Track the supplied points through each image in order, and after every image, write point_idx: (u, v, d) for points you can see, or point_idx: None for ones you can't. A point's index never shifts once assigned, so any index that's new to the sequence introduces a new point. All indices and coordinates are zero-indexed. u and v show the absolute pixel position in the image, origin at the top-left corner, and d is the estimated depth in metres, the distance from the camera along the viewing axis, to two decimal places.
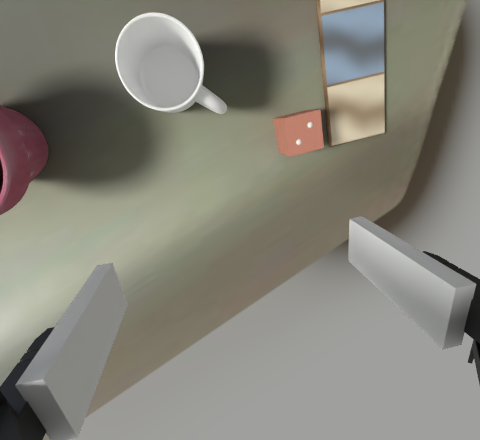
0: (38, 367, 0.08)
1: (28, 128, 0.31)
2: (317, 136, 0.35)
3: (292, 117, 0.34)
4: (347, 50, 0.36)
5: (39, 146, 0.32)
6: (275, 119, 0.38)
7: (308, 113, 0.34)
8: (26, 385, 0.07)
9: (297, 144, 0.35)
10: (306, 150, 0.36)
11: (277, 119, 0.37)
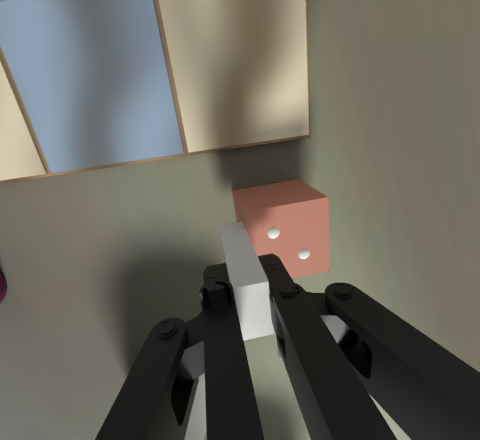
0: (239, 279, 0.11)
1: None
2: (300, 214, 0.15)
3: None
4: (111, 107, 0.15)
5: None
6: None
7: None
8: (237, 289, 0.10)
9: (308, 256, 0.16)
10: (324, 236, 0.16)
11: None
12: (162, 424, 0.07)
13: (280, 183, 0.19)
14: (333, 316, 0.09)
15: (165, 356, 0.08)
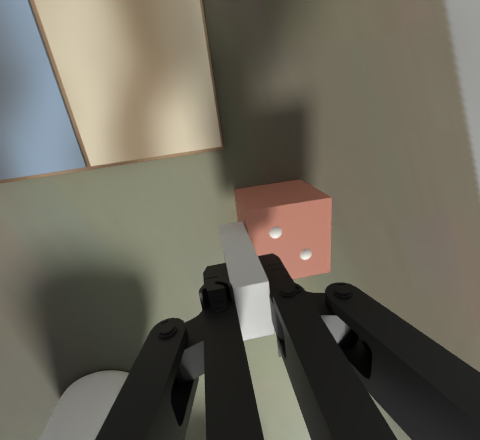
0: (239, 280, 0.11)
1: None
2: (303, 214, 0.15)
3: None
4: None
5: None
6: None
7: (251, 237, 0.15)
8: (237, 290, 0.10)
9: (309, 257, 0.16)
10: (327, 237, 0.16)
11: None
12: (162, 424, 0.07)
13: (282, 183, 0.19)
14: (334, 316, 0.09)
15: (165, 356, 0.08)
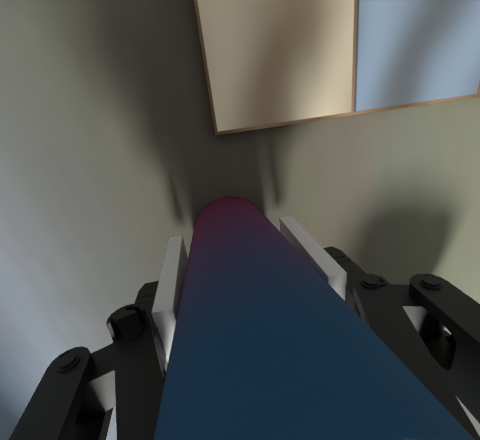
0: (163, 302, 0.10)
1: None
2: None
3: None
4: (432, 40, 0.15)
5: None
6: None
7: None
8: (158, 313, 0.10)
9: None
10: None
11: None
12: None
13: None
14: (424, 307, 0.09)
15: (65, 390, 0.07)
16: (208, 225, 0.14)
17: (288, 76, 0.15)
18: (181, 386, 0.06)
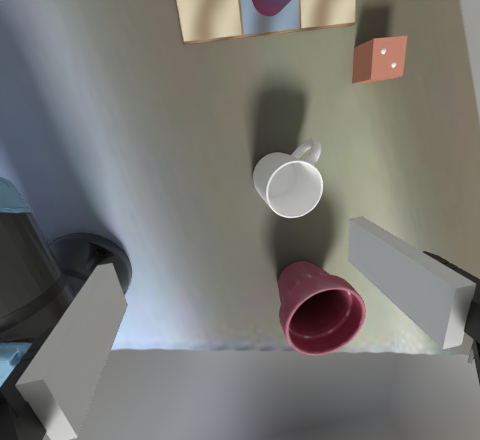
0: (38, 367, 0.08)
1: (299, 269, 0.49)
2: (395, 43, 0.37)
3: (372, 70, 0.38)
4: None
5: (309, 266, 0.50)
6: (356, 82, 0.42)
7: (373, 52, 0.37)
8: (26, 385, 0.07)
9: (395, 66, 0.38)
10: (403, 56, 0.38)
11: (360, 81, 0.41)
12: None
13: None
14: None
15: None
16: None
17: (212, 17, 0.36)
18: None
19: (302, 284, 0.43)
